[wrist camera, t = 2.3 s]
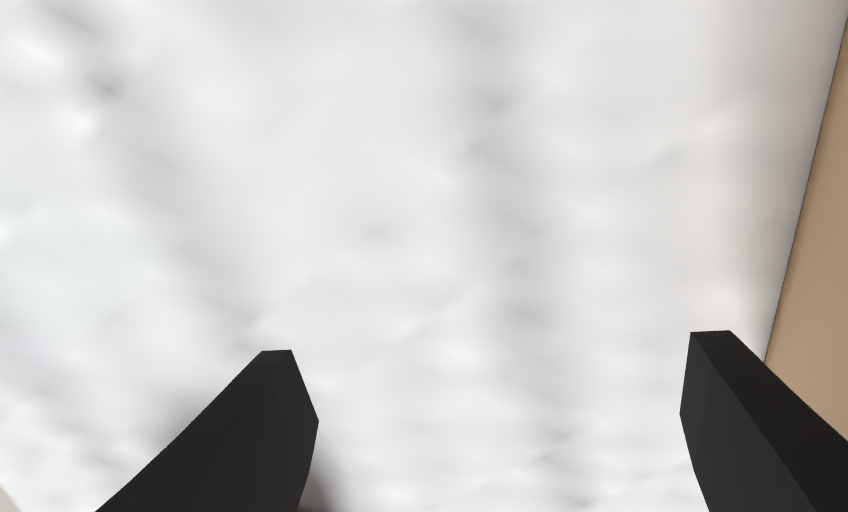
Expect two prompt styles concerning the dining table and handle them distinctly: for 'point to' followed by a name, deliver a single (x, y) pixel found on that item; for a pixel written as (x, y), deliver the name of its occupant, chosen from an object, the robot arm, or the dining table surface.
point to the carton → (820, 274)
